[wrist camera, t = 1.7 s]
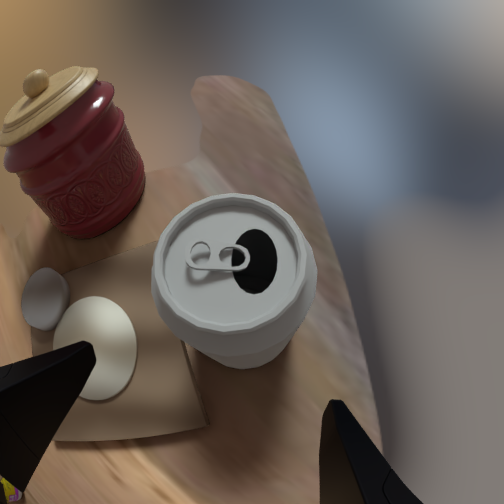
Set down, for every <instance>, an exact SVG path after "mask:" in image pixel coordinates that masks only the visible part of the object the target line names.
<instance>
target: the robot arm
mask: <svg viewBox="0 0 504 504" xmlns="http://www.w3.org/2000/svg"><path fill="white" fill-rule="evenodd" d="M95 365H96V355H95V351H94V348H93V345H92V344H91V343H89V342H87V341H84V340H83V341H79V342H76V343H74V344H71V345H68V346H65V347H62V348H59V349H56V350H53V351H50V352H46V353H43V354H40V355H37V356H34V357H31V358H28V359H25V360H22V361H18V362H15V363H14V364H13V363H12V364H9V365H5V366H2V367H0V504H7V500H6V496H5V491H4V486H3V483H2V482H1V480H2V479H3V478H4V479H5V480H7V481H8V482H9V483H10V484H11V485H13V486H14V487H15V488H16V489H18V490H19V491H20V492H22V493H23V492H24V491H25V489H26V487H27V485H28V483H29V481H30V479H31V477H32V475H33V473H34V471H35V469H36V467H37V466H38V464H39V462H40V460H41V458H42V456H43V454H44V453H45V451H46V449H47V447H48V446H49V444H50V442H51V440H52V439H53V437H54V435H55V434H56V432H57V430H58V429H59V427H60V425H61V424H62V422H63V420H64V419H65V417H66V416H67V414H68V412H69V411H70V409H71V408H72V406H73V404H74V403H75V401H76V400H77V398H78V397H79V395H80V393H81V392H82V390H83V388H84V386H85V384H86V382H87V380H88V378H89V376H90V374H91V372H92V370H93V368H94V367H95ZM319 476H320V504H423V503H422V502H421V501H420V500H419V499H418V498H417V497H416V496H415V495H414V494H413V493H412V492H411V491H410V490H409V489H408V488H407V486H406V485H405V484H404V483H403V482H402V480H401V479H400V478H399V477H398V475H397V474H396V473H395V471H394V470H393V469H391V466H390V465H389V464H388V462H387V461H386V459H385V458H384V457H383V455H382V454H381V453H380V451H379V450H378V449H377V447H376V446H375V445H374V443H373V442H372V441H371V439H370V438H369V436H368V435H367V434H366V432H365V431H364V430H363V428H362V427H361V425H360V424H359V423H358V421H357V420H356V419H355V417H354V416H353V414H352V413H351V412H350V410H349V409H348V408H347V406H346V405H345V403H344V402H343V401H342V400H334V399H332V400H330V401H329V403H328V405H327V407H326V409H325V411H324V413H323V417H322V427H321V439H320V450H319Z"/></svg>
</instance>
